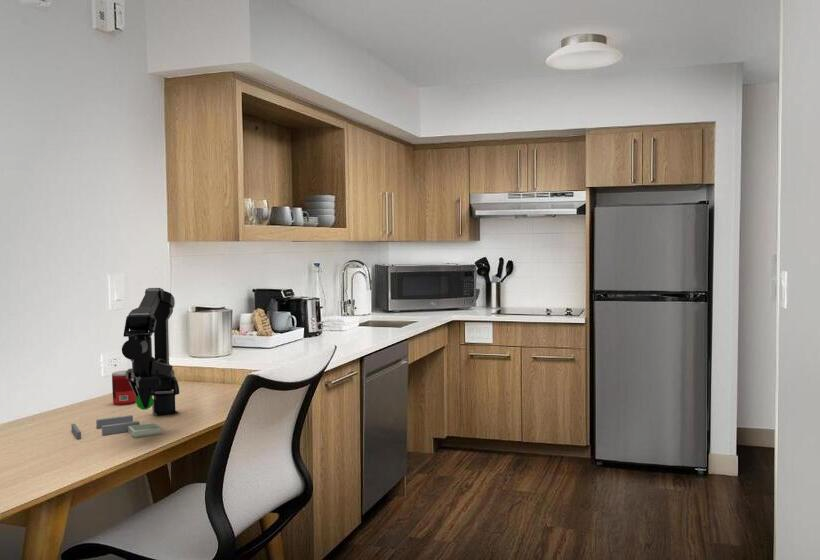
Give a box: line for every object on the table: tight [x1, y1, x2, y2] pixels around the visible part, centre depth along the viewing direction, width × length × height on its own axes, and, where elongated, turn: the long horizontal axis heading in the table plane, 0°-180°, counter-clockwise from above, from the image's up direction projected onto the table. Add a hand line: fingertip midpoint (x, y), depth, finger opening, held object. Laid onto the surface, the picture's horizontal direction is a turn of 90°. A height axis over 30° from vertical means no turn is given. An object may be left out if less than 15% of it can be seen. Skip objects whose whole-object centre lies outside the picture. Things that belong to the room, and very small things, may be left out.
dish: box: [127, 422, 163, 439], centre depth 225 cm, size 8×8×2 cm
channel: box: [70, 414, 140, 440], centre depth 228 cm, size 18×12×2 cm
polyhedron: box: [135, 395, 154, 411], centre depth 224 cm, size 5×5×5 cm
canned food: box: [111, 369, 137, 406], centre depth 266 cm, size 8×8×11 cm
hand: (143, 405), depth 224 cm, fingers closed on polyhedron, 5 cm apart
